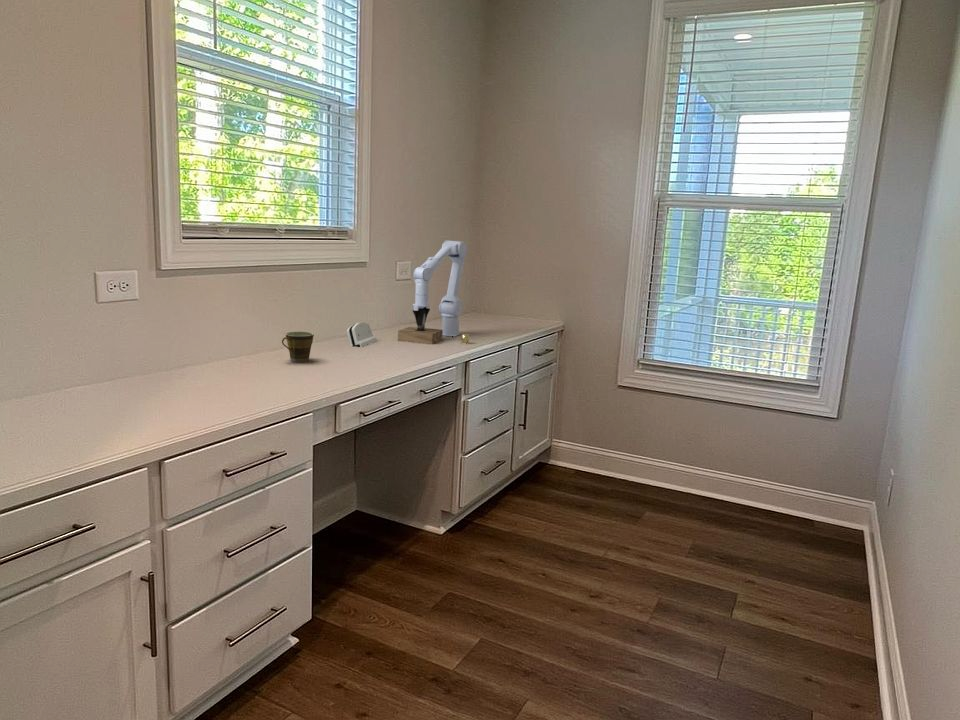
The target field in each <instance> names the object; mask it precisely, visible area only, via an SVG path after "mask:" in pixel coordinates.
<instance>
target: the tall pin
mask: <svg viewBox="0 0 960 720" xmlns="http://www.w3.org/2000/svg"><path fill="white" fill-rule="evenodd" d="M425 325H426V322H425V314H424V317H423V323H422V326H418V325H417V327H418V328H417V331H425V328H426V326H425Z"/></svg>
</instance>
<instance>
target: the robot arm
mask: <svg viewBox="0 0 960 720" xmlns="http://www.w3.org/2000/svg"><path fill="white" fill-rule="evenodd" d="M467 250H468V247H467V245H466V242H465V241H463V240H461V241H460V240H449V239H446V240H444V242H442V244H441V248H440V249H439V251H437V252H436V254H435V255H434V256H429V257H428V258H427V260H426V261H424V263H422V264H421V265H420V266H418V267H416V268H415V269H414V271H413V274H412V275H413V280H414V284H415V291H414V292H415V294H414V295H415V296H414V299H415V302H414V303H412V306H413V309H412V313H413V316H414V318H415V322H416V326H417V327H418V326H422V323H423V317H424V314H425V323H426V321H427V317H428V315H429V312H430V310H431V309H430V302H429V285H430V284H429V282H430V281H431V279H432V277H433V274H434V272H435V271H436V270H437V269H438V268H439V267H440V263H441V262H442V261H443V260H444V259H446V258H447V257H448V258H449V259H450V260H451V261H452V264H451V268H450V269H451V270H450V275H449V279H448V285H447V292H446V295H444V296H443V297H442V298H441V301H440V303H439V305H438V311H439V313H440V316H441V319H442V320H441V321H442V322H441V330H443V336H445V337H452V336H453V338H454V337H457V336H459V335H462V333H461V332H460V330H459V329H460V320H459V317H460V315H461V314H462V311H463V307H462V303H463V301H462V299H460V298H459V292H460V286H461V282H462V276H463V270H464V264H465V260H466V256H467ZM443 336H442V337H443Z"/></svg>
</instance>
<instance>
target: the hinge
mask: <svg viewBox="0 0 960 720" xmlns="http://www.w3.org/2000/svg"><path fill="white" fill-rule="evenodd" d="M346 334H347V338H348V342H349V346H350V347H353V346H358V345H359V347H360V348H363V347H362V346H364V347H366V346H368V345H367V344H369V345H371V344H370V343H372V344H373V342H374V343H376V342H375V341H377V342H378V340H377V337H376V336H374V334H373V332H372V329H371V326H370V324H369V323H367V322H357V323H354V324H351V325H350V326H349V327H348V328H347V330H346ZM365 345H366V346H365Z"/></svg>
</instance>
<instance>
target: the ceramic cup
mask: <svg viewBox="0 0 960 720" xmlns="http://www.w3.org/2000/svg"><path fill="white" fill-rule="evenodd" d="M285 340H286V344H287V345H286V344H285V343H284V341H285ZM313 342H314V333H313V332H310V331H290V332H287V333H285V337H283V338H282V340H281V344H282V345H283V346H284V347H286V349H287V350H288V354H289V359H290V362H293V361H294V363H305V361H307V362H309V360H310V357H311V356H310V355H311V349H312V346H313Z"/></svg>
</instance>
